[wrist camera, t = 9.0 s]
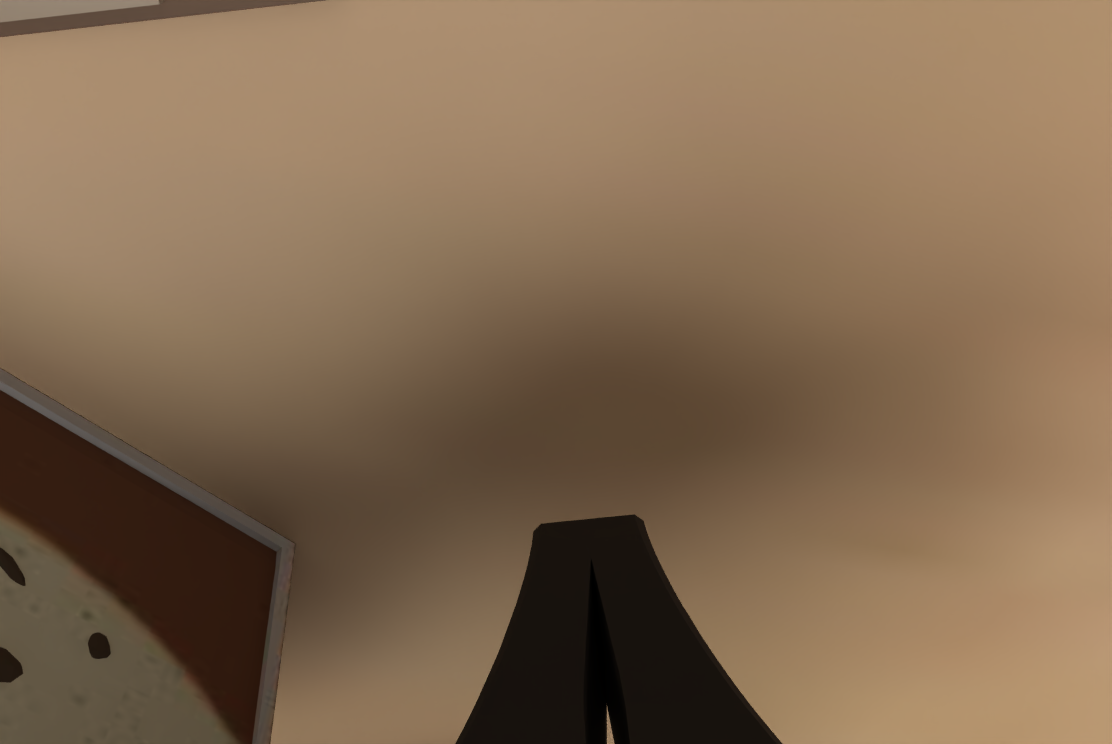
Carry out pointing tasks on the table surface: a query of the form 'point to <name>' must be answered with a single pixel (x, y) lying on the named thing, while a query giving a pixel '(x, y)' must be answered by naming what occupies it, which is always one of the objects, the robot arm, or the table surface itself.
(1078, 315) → the table surface
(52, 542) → the food container
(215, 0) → the game lane
